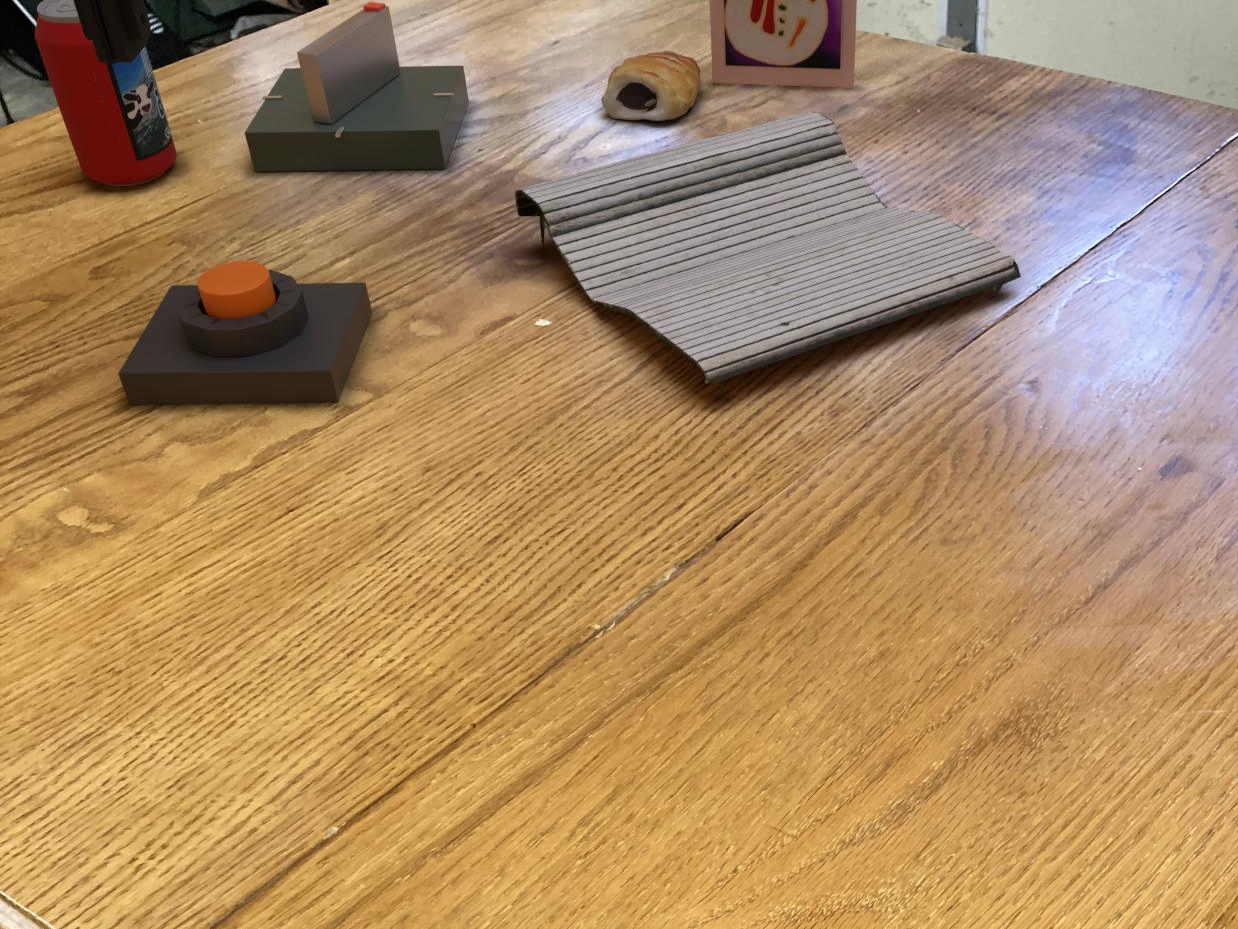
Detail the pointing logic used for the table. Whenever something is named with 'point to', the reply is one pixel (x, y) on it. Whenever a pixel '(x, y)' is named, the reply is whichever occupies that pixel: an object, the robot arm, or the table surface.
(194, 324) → the button box
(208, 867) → the table surface
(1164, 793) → the table surface
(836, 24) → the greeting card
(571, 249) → the mat
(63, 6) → the beverage can
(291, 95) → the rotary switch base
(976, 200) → the table surface
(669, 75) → the pastry
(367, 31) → the grey rectangular slab
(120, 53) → the robot arm
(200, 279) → the button
